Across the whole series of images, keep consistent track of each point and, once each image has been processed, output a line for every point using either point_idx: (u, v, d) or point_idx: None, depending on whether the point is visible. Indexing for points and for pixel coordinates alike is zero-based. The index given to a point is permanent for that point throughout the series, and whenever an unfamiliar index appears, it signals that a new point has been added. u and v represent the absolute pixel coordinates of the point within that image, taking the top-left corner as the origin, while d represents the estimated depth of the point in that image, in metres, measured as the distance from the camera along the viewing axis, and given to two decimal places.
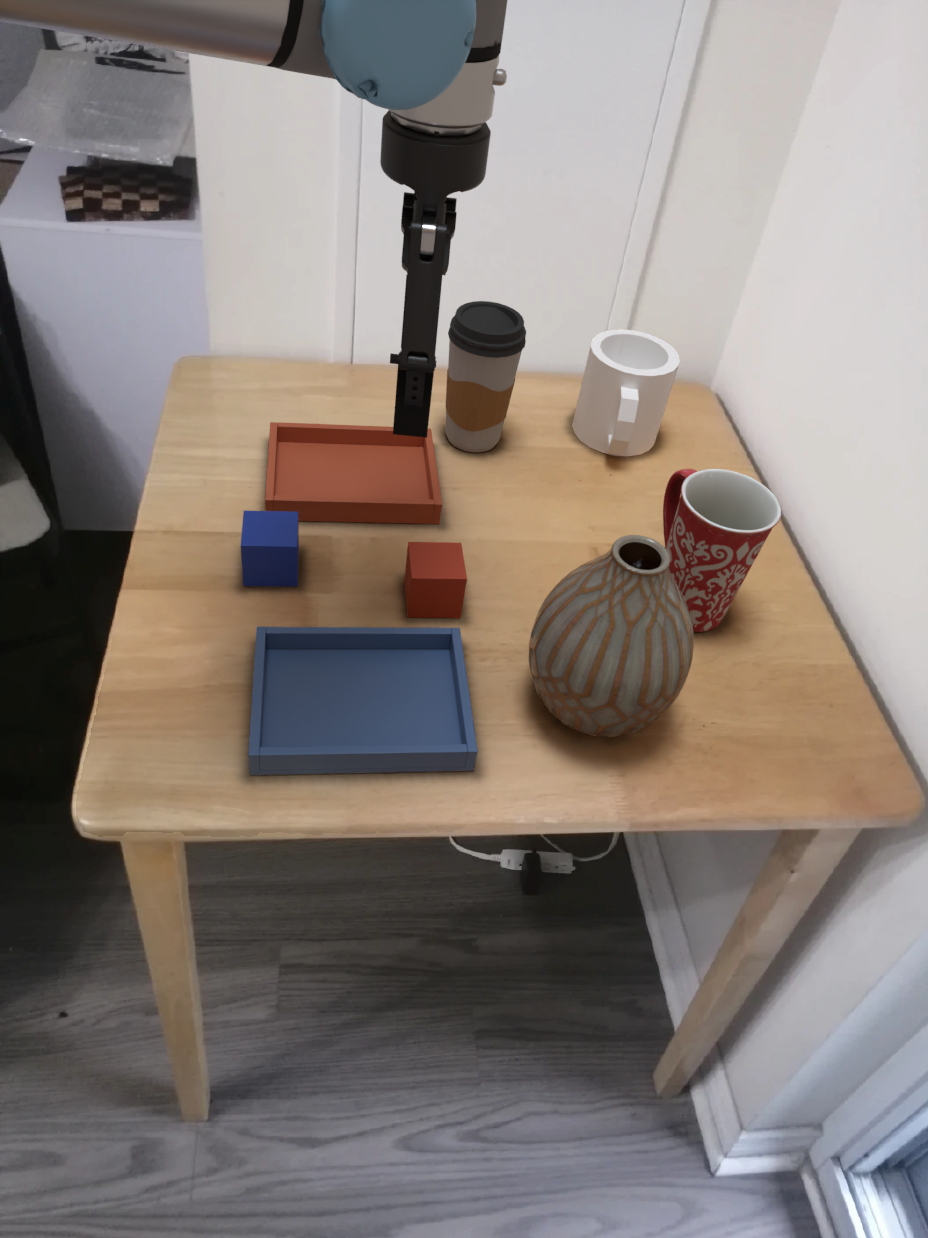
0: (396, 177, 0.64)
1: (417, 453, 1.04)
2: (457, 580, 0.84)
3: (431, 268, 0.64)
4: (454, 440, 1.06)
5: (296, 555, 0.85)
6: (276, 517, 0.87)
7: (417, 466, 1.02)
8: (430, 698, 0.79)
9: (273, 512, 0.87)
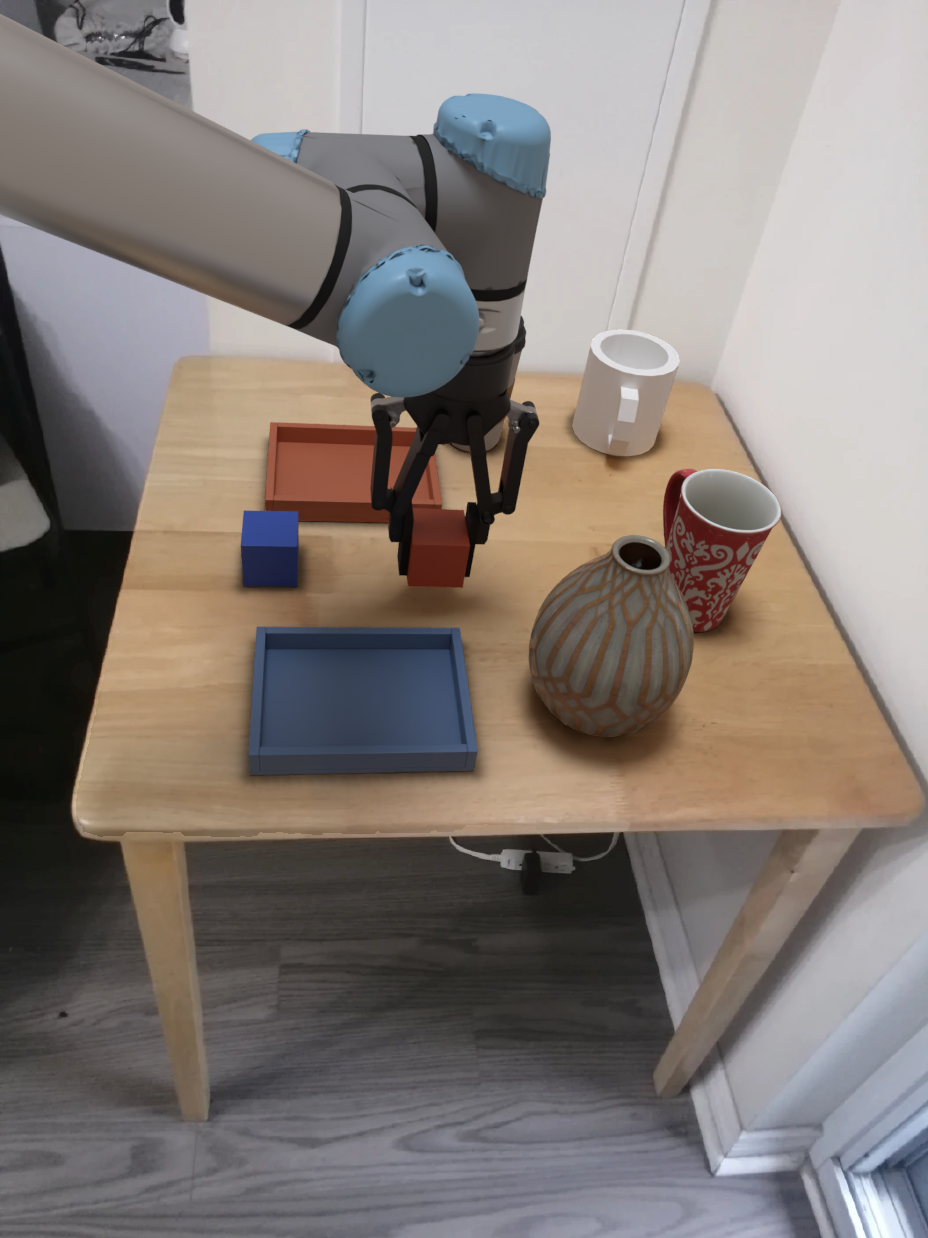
0: None
1: None
2: (460, 547, 0.81)
3: (376, 435, 0.75)
4: None
5: (296, 555, 0.85)
6: (276, 517, 0.87)
7: None
8: (430, 698, 0.79)
9: (273, 512, 0.87)
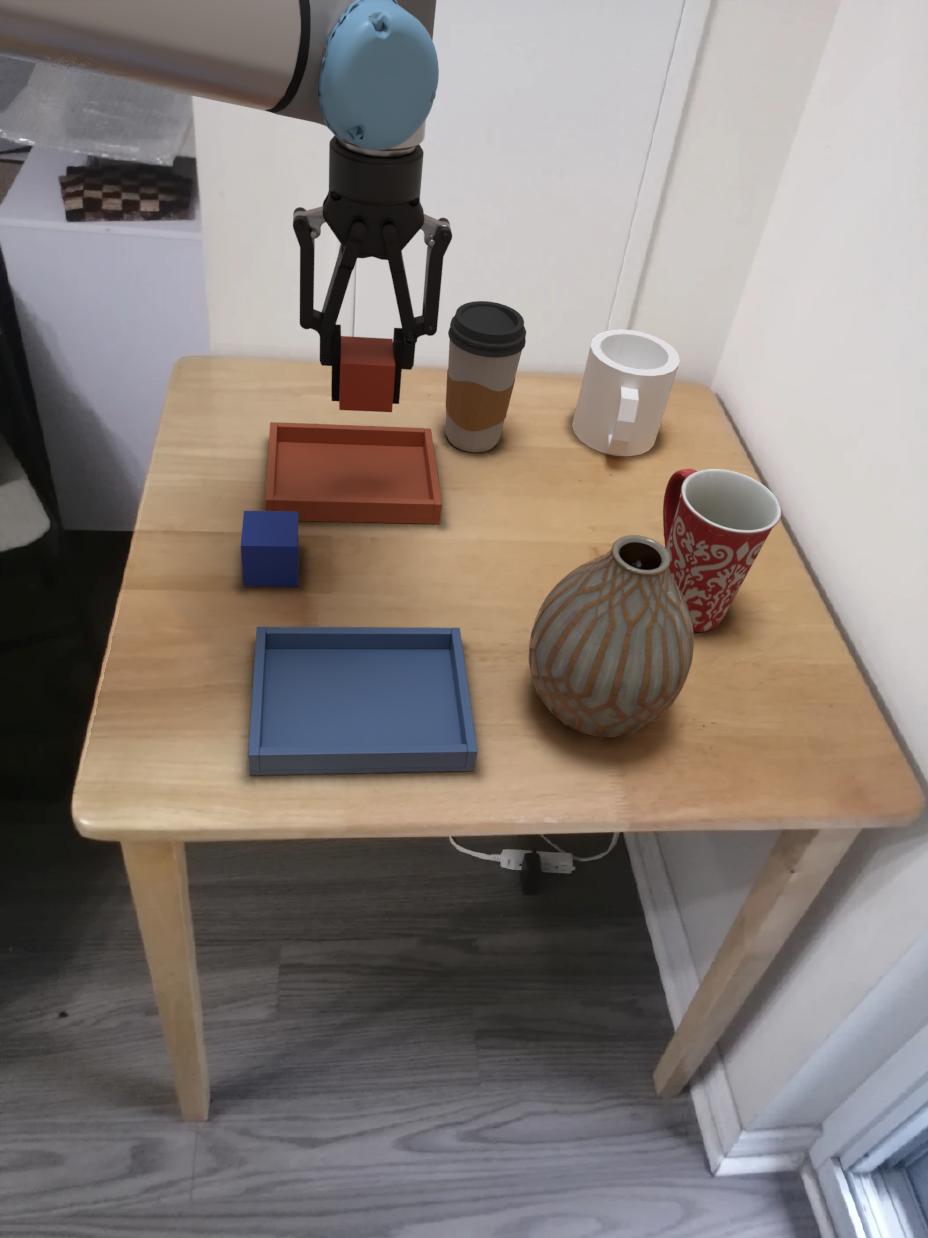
0: None
1: (417, 453, 1.04)
2: (385, 366, 0.86)
3: None
4: (454, 440, 1.06)
5: (296, 555, 0.85)
6: (276, 517, 0.87)
7: (417, 466, 1.02)
8: (430, 698, 0.79)
9: (273, 512, 0.87)
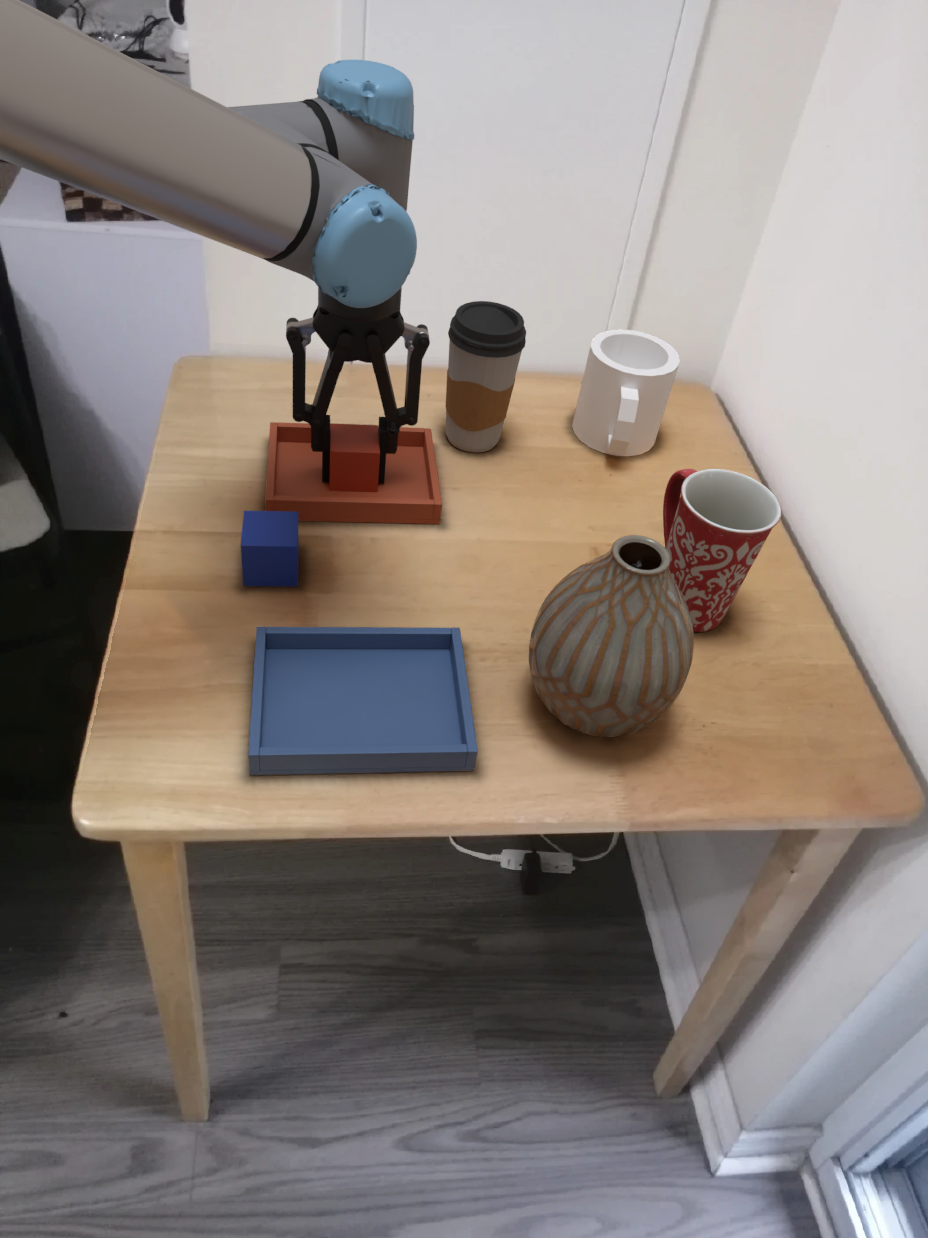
0: None
1: (417, 453, 1.04)
2: (371, 454, 0.95)
3: None
4: (454, 440, 1.06)
5: (296, 555, 0.85)
6: (276, 517, 0.87)
7: (417, 466, 1.02)
8: (430, 698, 0.79)
9: (273, 512, 0.87)
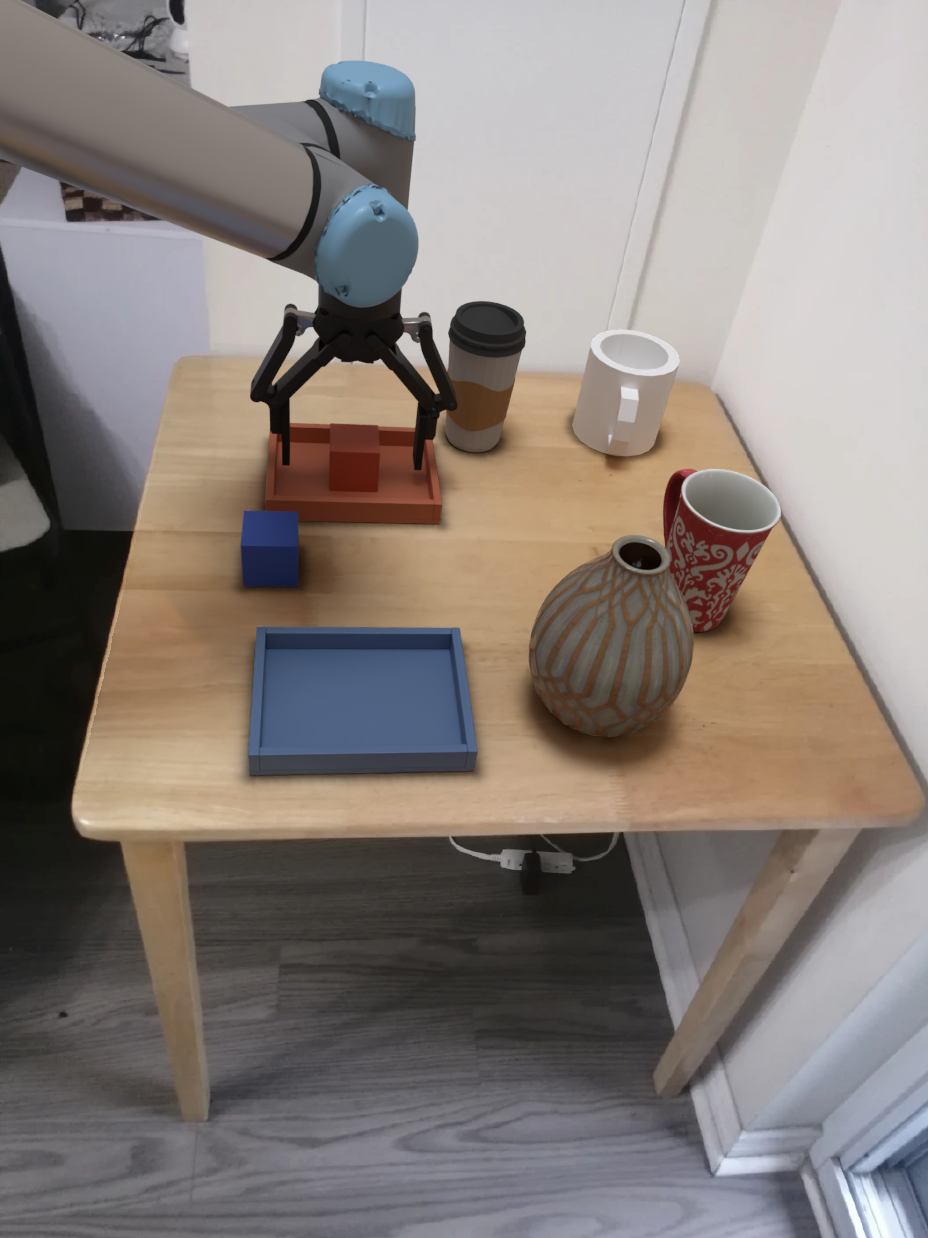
0: None
1: None
2: (371, 453, 0.95)
3: (279, 337, 0.87)
4: (454, 440, 1.06)
5: (296, 555, 0.85)
6: (276, 517, 0.87)
7: None
8: (430, 698, 0.79)
9: (273, 512, 0.87)
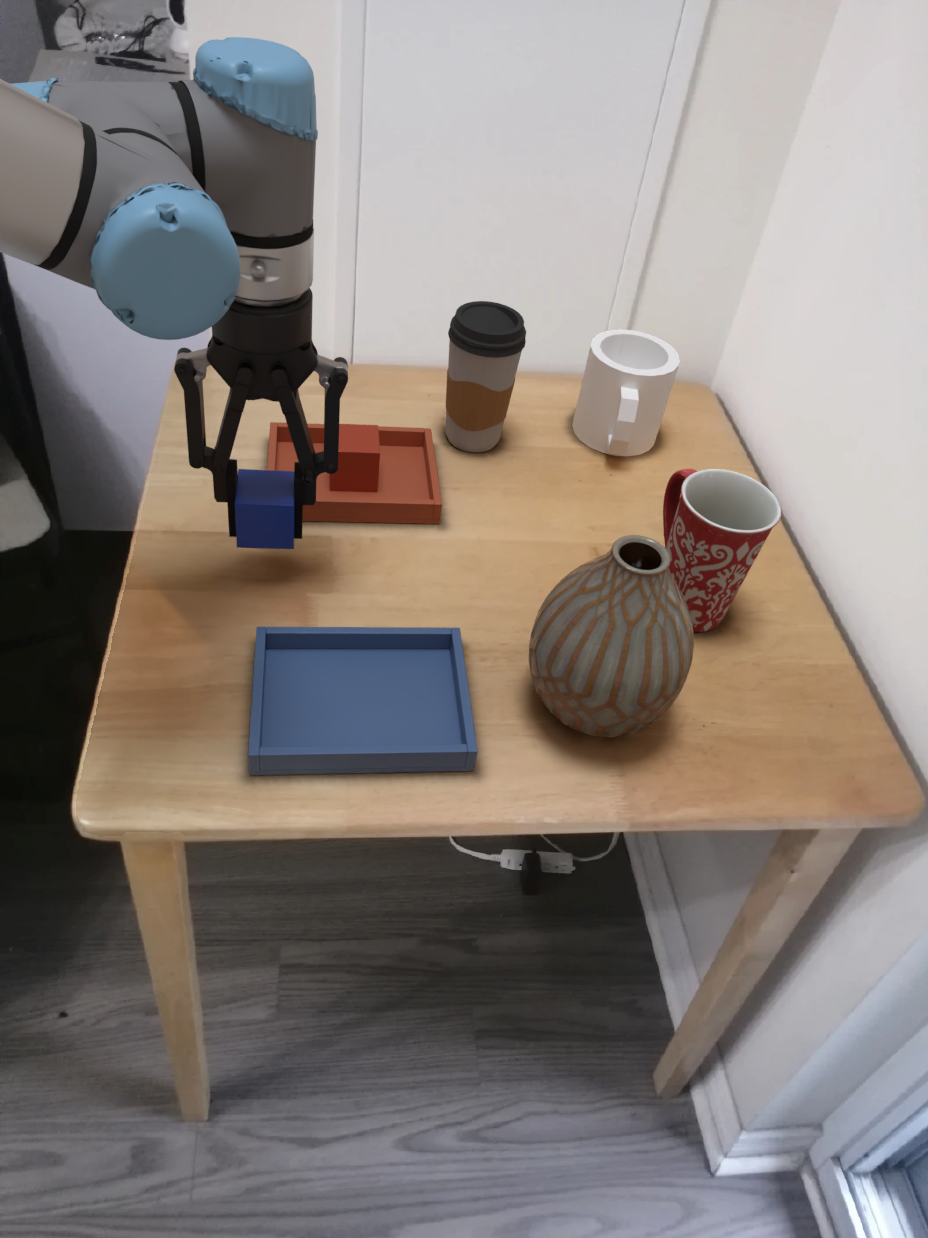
0: None
1: (417, 453, 1.04)
2: (371, 453, 0.95)
3: None
4: (454, 440, 1.06)
5: (293, 515, 0.82)
6: (271, 476, 0.83)
7: (417, 466, 1.02)
8: (430, 698, 0.79)
9: (269, 471, 0.84)
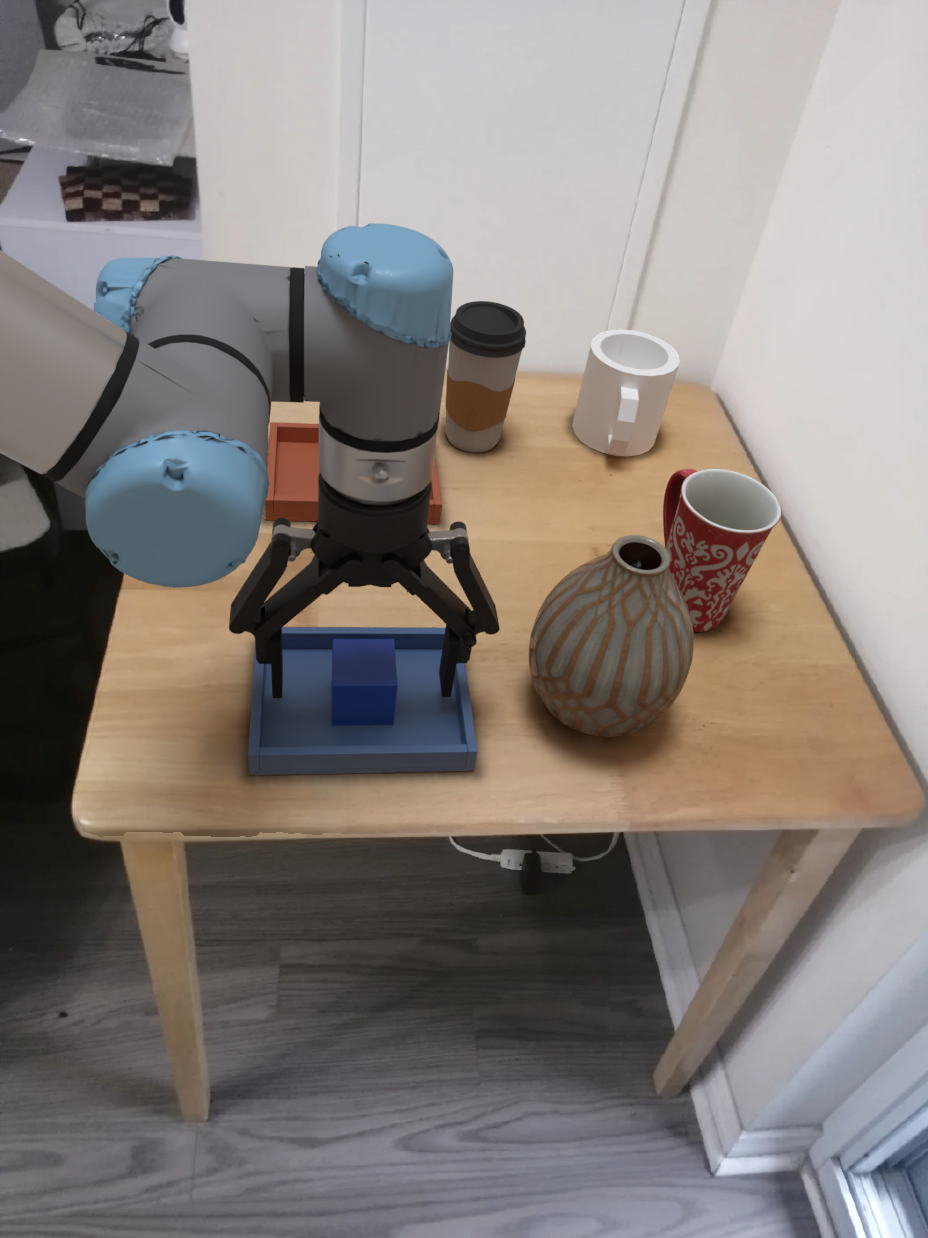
0: None
1: None
2: None
3: (266, 561, 0.66)
4: (454, 440, 1.06)
5: (395, 693, 0.74)
6: (369, 647, 0.76)
7: None
8: (430, 698, 0.79)
9: (366, 640, 0.76)
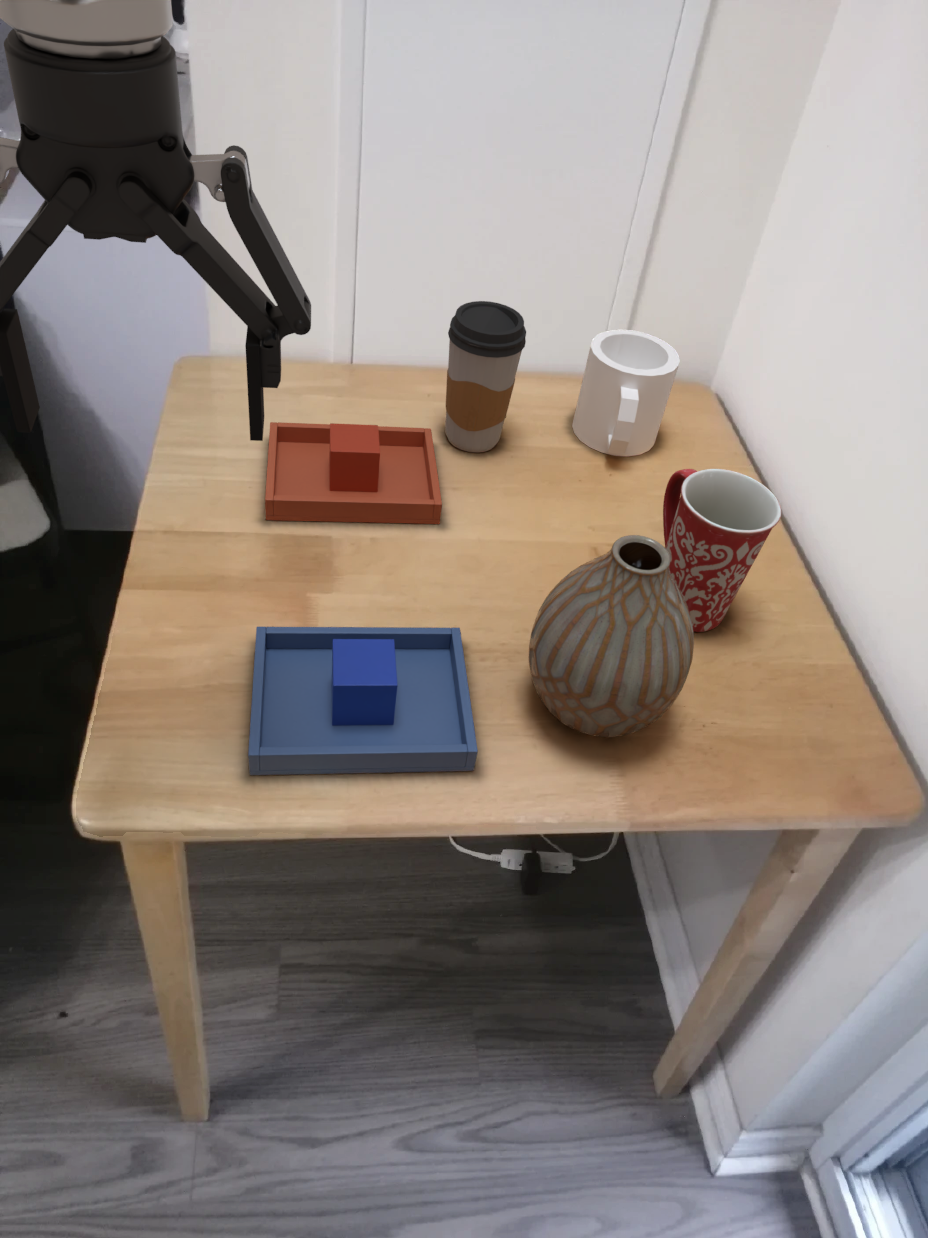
0: None
1: (417, 453, 1.04)
2: (371, 453, 0.95)
3: None
4: (454, 440, 1.06)
5: (395, 693, 0.74)
6: (369, 647, 0.76)
7: (417, 466, 1.02)
8: (430, 698, 0.79)
9: (366, 640, 0.76)
